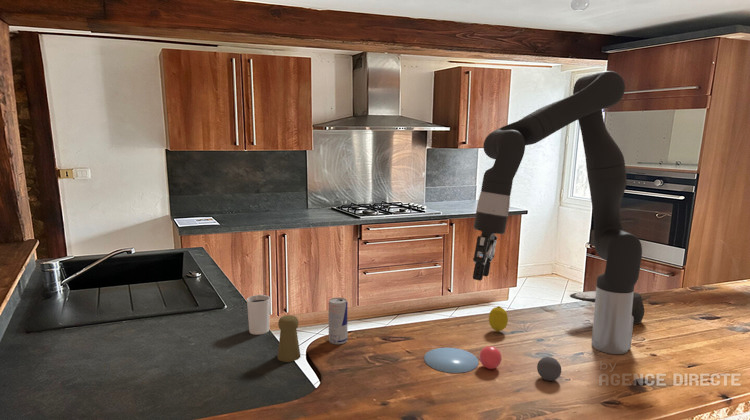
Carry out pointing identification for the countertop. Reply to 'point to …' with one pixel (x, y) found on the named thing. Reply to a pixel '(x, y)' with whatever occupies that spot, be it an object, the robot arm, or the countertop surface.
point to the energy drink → (338, 320)
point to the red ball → (490, 357)
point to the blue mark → (451, 360)
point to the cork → (288, 339)
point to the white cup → (258, 314)
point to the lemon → (498, 318)
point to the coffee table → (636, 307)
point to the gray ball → (549, 368)
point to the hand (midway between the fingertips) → (480, 277)
